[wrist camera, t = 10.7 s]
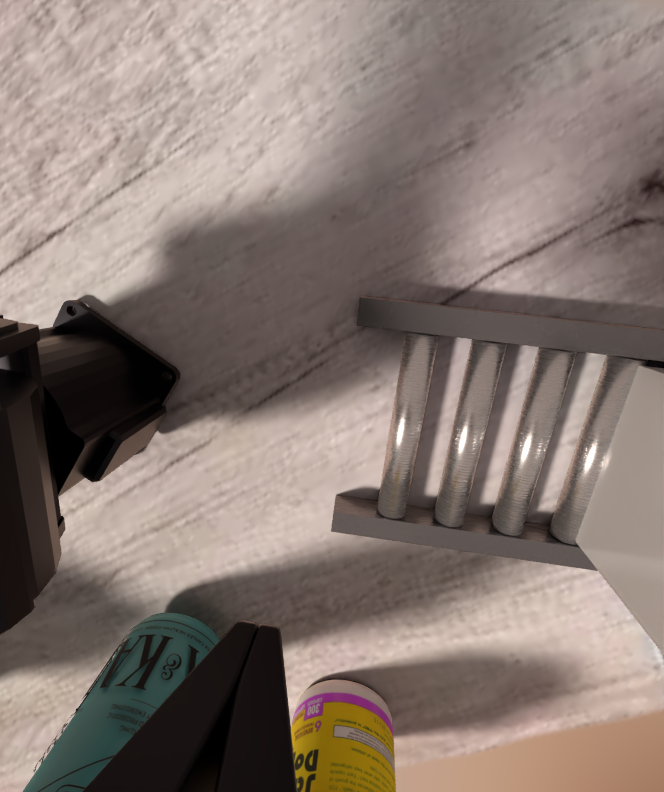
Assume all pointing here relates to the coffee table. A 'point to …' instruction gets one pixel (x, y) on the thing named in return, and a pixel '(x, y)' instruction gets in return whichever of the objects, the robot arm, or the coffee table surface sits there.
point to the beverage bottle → (123, 699)
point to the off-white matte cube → (633, 506)
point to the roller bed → (477, 393)
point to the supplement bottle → (343, 739)
